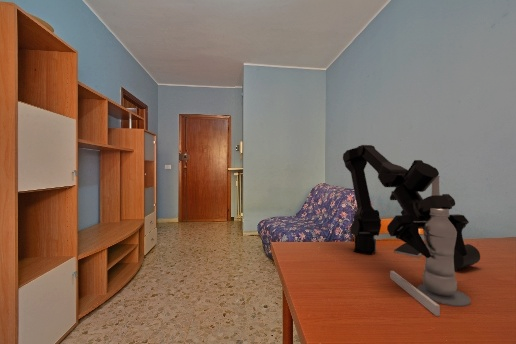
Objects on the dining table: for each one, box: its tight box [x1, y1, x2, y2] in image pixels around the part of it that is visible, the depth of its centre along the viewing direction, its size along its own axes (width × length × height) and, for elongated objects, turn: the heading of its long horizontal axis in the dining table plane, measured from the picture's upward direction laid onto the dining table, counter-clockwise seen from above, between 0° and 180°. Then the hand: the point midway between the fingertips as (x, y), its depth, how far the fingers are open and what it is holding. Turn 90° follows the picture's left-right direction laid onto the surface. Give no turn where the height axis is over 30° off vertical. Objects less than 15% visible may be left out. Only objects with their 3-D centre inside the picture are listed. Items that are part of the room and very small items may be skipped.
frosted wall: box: [389, 270, 441, 317], centre depth 58 cm, size 18×1×2 cm, turn 178°
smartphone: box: [393, 242, 423, 258], centre depth 93 cm, size 8×1×15 cm
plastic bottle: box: [422, 208, 458, 296], centre depth 58 cm, size 6×7×20 cm
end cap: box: [454, 243, 481, 272], centre depth 76 cm, size 10×7×7 cm
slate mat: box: [416, 283, 472, 307], centre depth 58 cm, size 10×10×1 cm
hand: (447, 256), depth 57 cm, fingers open, 9 cm apart
